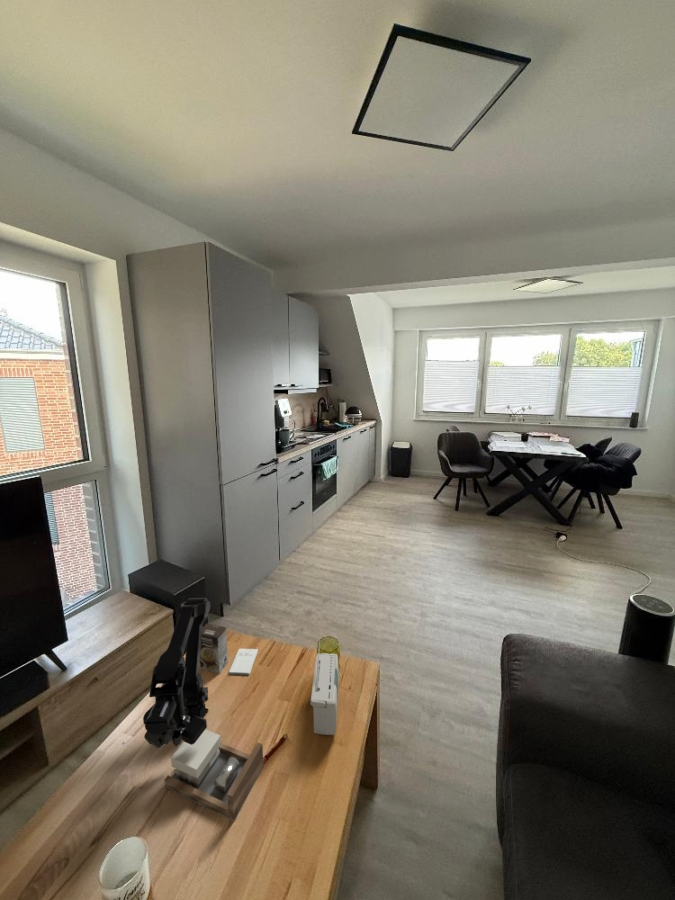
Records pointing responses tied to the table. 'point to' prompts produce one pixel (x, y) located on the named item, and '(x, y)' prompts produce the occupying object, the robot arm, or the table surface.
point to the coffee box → (213, 648)
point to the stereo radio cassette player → (325, 693)
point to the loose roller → (226, 775)
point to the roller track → (204, 785)
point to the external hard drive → (243, 662)
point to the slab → (196, 754)
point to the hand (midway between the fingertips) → (177, 744)
